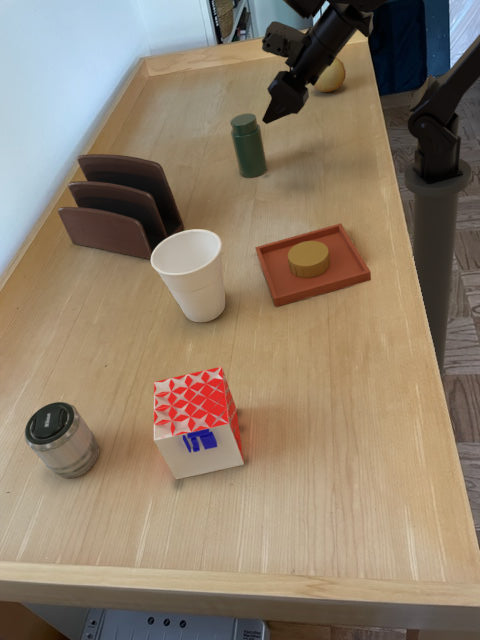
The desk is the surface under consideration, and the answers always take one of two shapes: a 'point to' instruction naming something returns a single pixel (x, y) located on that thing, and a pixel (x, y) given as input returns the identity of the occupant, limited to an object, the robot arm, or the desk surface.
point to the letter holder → (121, 205)
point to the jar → (248, 145)
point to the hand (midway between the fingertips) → (271, 110)
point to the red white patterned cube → (197, 423)
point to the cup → (193, 272)
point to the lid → (308, 259)
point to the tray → (339, 274)
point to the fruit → (331, 77)
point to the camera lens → (62, 439)
